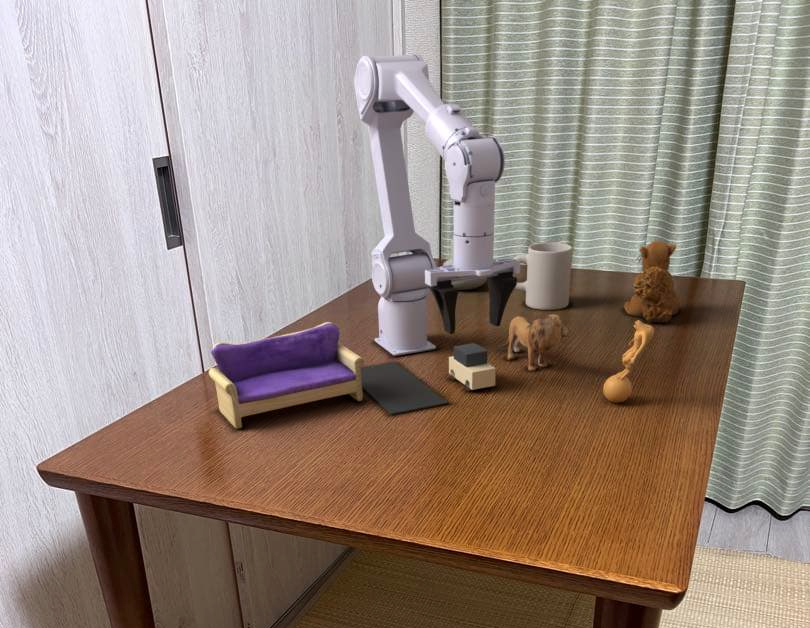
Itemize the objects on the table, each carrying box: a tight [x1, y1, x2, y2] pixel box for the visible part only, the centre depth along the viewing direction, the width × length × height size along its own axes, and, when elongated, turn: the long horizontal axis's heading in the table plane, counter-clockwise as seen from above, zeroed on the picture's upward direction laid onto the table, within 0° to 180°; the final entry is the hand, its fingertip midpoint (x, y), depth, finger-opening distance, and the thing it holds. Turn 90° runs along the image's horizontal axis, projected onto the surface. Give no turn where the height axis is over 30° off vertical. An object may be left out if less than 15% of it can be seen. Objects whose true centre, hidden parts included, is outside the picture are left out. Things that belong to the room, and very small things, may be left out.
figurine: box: [602, 319, 655, 404], centre depth 115 cm, size 8×6×12 cm
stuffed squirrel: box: [623, 240, 681, 323], centre depth 149 cm, size 10×14×13 cm
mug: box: [513, 242, 573, 311], centre depth 160 cm, size 12×8×11 cm
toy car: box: [448, 342, 497, 392], centre depth 125 cm, size 8×4×5 cm, turn 23°
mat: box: [361, 361, 449, 416], centre depth 125 cm, size 20×9×1 cm, turn 23°
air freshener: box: [442, 237, 487, 291], centre depth 172 cm, size 11×8×10 cm
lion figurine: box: [498, 313, 569, 372], centre depth 131 cm, size 15×5×9 cm, turn 33°
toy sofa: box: [208, 321, 365, 430], centre depth 118 cm, size 21×9×10 cm, turn 118°
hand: (472, 328), depth 121 cm, fingers open, 7 cm apart
